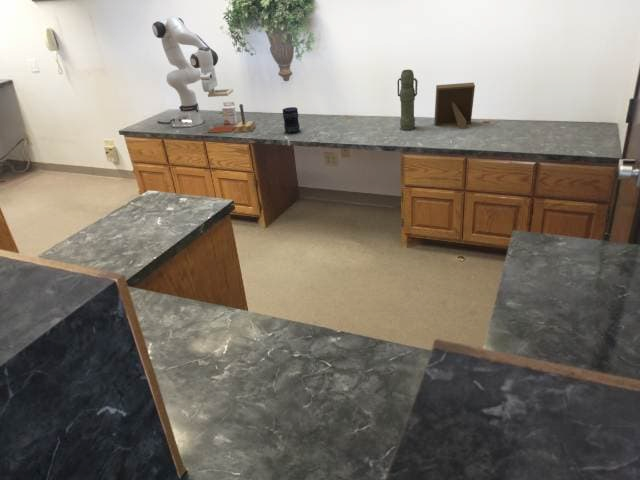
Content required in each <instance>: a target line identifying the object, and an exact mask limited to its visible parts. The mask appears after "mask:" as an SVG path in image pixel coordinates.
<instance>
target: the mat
mask: <svg viewBox="0 0 640 480" xmlns="http://www.w3.org/2000/svg"><path fill="white" fill-rule="evenodd" d="M234 126H235V125H219V126H213V127H212V128H211V129H210V130H209V131H208V134H215V133H231V132H232V131H234V128H233V127H234Z"/></svg>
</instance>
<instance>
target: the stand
mask: <svg viewBox="0 0 640 480" xmlns="http://www.w3.org/2000/svg"><path fill="white" fill-rule="evenodd" d="M239 110H240V117H241V121H237V123H236V124H234V125H233V126H234V127H233V128H234V129H233V133H234V134H235V133H252V132H253V130H254V129H255V128H256V121H255V120H251V121H246V118H245V111H244V105H243V104H242V103H240V104H239Z"/></svg>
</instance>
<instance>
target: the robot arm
mask: <svg viewBox="0 0 640 480" xmlns="http://www.w3.org/2000/svg"><path fill="white" fill-rule="evenodd" d="M151 29H152V33H153V34H154V36H155V37H156V38H157V39H160V40H161V45H162V48H163V51H164V53H165V57H166V58H167V61H168V63H169V64H170V65H171V66H174V67H176V68H177V69H175V70H172V71H169V72H168V73H167V74H166V78H165V79H166V82H167V84H168V85H169V86H170V87H171V88H173V89H174V90H175V91H176V92H177V94H178V95H179V96H178V97H179V100H180V103H181V105H180V106H179V107H178V108H179V112H178V113H176V115H175V116H174V118H173V119H170V120H169V121H168V122H165V121H156V122H157V123H159V124H165V125H169V124H171V123H172V121H173V123H172V124H171V127H172V128H192V127H195V126H200V125H202V124H203V123H204V120H203V119H202V116H201V114H200V113H201V112H200V106H199V103H198V101H197V95H196V92H195V91H193V89H192V90H191V89H190V88H189V87H188V85H191V84H195V83H197V82H198V81H200V82H201V86H202V90H203V92H204V93H208V94H210V97H209V98H211V97H212V96H213V93H214V90H215V88H216V87H217V86H218V79H217V75H216V70H215V66H216V65H217V64H218V62H219V55H218V53H217V52H216V51H215V50H213V48H211V47H210V46H209V45H208V44H207V43H206V42H205V41H204V40H203V39H202V37H200V36H199V35H197V34H196V33H195V32H192V31H191V30H190V29H189V28H187V26H186V25H185V22H184V20H183V19H182V18H180V17H177V16H175V15H174V16H169V17H168V18H166V19H162V20H159V21H158V20H157V21H155V22H153V23H152V27H151ZM180 45H182V46H193V47H196V48H197V51H195V52H194V53H191V54H190V57H189V61H188V60H187V59H186V57H185V55H184V52H183V51H182V48H181V46H180ZM212 98H213V97H212Z"/></svg>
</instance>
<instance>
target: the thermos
mask: <svg viewBox="0 0 640 480" xmlns="http://www.w3.org/2000/svg"><path fill="white" fill-rule="evenodd" d="M418 82H419V81H418V79H417V78H416V77H415V75H414V71H413V70H412V69H403V70H402V71H401V75H400V77H399V78H398V79H397V96H398V97H399V101H400V119H399V122H400V123H399V124H400V125H399V126H400V130H402V131H413V130H415V124H416V118H415V100H416V96H417V95H418ZM414 84H415V85H414Z"/></svg>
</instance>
